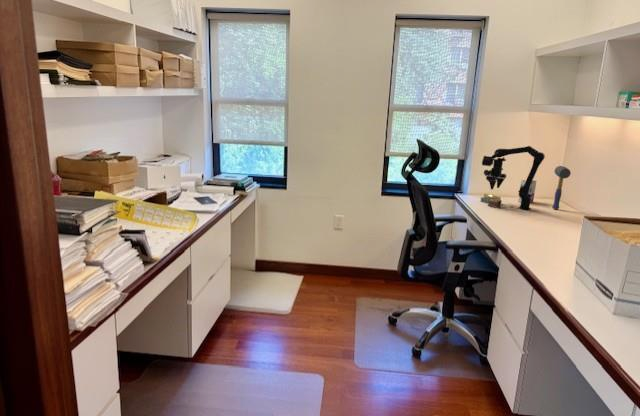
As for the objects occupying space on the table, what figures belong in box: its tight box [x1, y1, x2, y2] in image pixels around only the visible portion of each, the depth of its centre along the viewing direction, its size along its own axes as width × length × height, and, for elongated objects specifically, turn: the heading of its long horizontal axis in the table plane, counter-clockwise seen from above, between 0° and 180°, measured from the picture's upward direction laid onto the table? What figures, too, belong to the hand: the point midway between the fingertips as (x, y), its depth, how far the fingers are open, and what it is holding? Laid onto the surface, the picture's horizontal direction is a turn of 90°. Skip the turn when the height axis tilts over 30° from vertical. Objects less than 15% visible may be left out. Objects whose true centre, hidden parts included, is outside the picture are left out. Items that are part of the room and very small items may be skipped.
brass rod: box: [483, 192, 502, 200], centre depth 310 cm, size 11×3×3 cm, turn 44°
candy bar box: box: [518, 179, 537, 204], centre depth 316 cm, size 11×5×16 cm, turn 119°
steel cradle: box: [480, 196, 502, 204], centre depth 312 cm, size 8×11×3 cm
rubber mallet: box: [552, 165, 572, 211], centre depth 297 cm, size 12×8×30 cm, turn 168°
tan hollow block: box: [487, 199, 503, 209], centre depth 301 cm, size 7×6×4 cm
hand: (494, 188), depth 306 cm, fingers open, 9 cm apart
